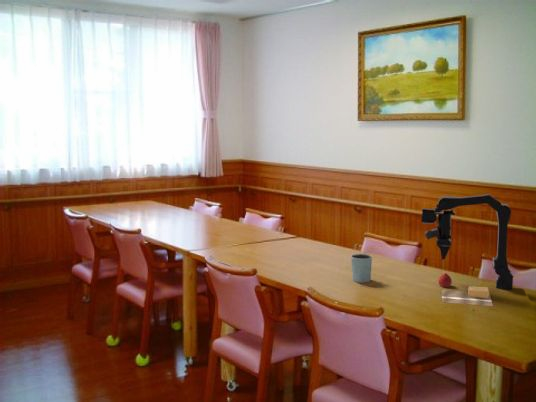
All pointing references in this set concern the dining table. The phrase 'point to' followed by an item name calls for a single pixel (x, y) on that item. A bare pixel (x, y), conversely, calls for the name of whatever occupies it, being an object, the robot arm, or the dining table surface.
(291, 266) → the dining table surface
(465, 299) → the board
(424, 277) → the dining table surface
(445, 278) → the onion
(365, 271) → the grey blue cup
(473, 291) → the light orange rectangular block
